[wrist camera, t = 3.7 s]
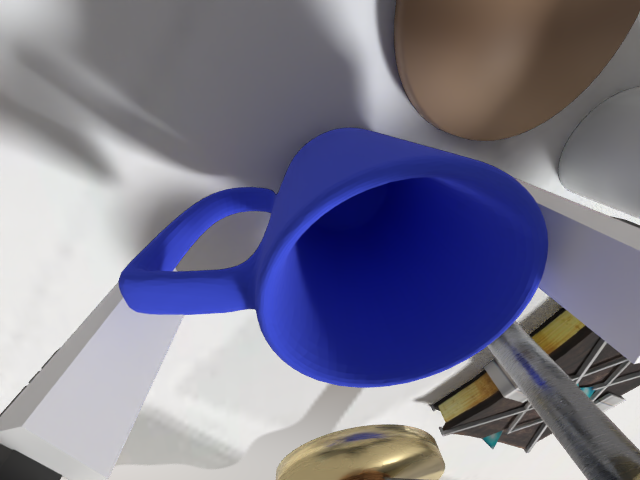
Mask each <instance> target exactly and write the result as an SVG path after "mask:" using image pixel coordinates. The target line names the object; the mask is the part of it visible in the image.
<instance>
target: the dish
mask: <svg viewBox="0 0 640 480" xmlns="http://www.w3.org/2000/svg"><path fill="white" fill-rule="evenodd" d="M639 12H640V0H396V9H395V18H394V47H395V57H396V63H397V67H398V72H399V76H400V79H401V82H402V85H403V87H404V90H405V92H406V94H407V96H408V98H409V100H410V102H411V103H412V104H413V106H414V107H415V109H416V110H417V112H418V113H419V114H420V115H421V116H422V117H423V118H424V119H425V120H426V121H428V122H429V123H430V124H432V125H433V126H434V127H436V128H438V129H440V130H442V131H444V132H446V133H449V134H453V135H456V136H459V137H462V138H466V139H469V140H478V141H494V140H499V139H505V138H509V137H512V136H516V135H519V134H521V133H524V132H526V131H528V130H531V129H533V128H535V127H537V126H538V125H540V124H542V123H544V122H546V121H547V120H549V119H550V118H552V117H553V116H554V115H556V114H557V113H559V112H560V111H562V110H563V109H564V108H565V107H566V106H568V105H569V104H570V103H571V102H573V101H574V100H575V99H576V98H577V97H578V96H579V95H580V94H581V93H582V92H583V91H584V90H585V89H586V88H587V87H588V86H589V85H590V84H591V83H592V82H593V81H594V79H595V78H596V77H597V76H598V75H599V74H600V73H601V71H602V70H603V69H604V67H605V66H606V65H607V64H608V62H609V61H610V60H611V58H612V57H613V56H614V54H615V53H616V51H617V50H618V48H619V47H620V45H621V44H622V42H623V41H624V39H625V37H626V36H627V34H628V32H629V30H630V29H631V27H632V25H633V23H634V22H635V20H636V18H637V16H638V14H639Z"/></svg>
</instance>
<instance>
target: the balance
mask: <svg viewBox="0 0 640 480" xmlns="http://www.w3.org/2000/svg"><path fill="white" fill-rule="evenodd" d="M487 347H488V348H489V350H490V351H491V352H492V354H493V355H494V356H495V358H496V359H497V360H498V362H499V363H500V364H501V366H502V367H503V368H504V370H505V371H506V372H507V373H508V375H509V376H510V377H511V379H512V380H513V381H514V383H515V384H516V385H517V387H518V388H519V389H520V391H521V392H522V393H523V395H524V396H525V397H526V399H527V400H528V401H529V403H530V404H531V405H532V407H533V408H534V409H535V410H536V412H537V413H538V414H539V416H540V417H541V418H542V420H543V421H544V422H545V424H546V425H547V426H548V428H549V429H550V430H551V432H552V433H553V434H554V436H555V437H556V438H557V440H558V441H559V442H560V444H561V445H562V446H563V447H564V449H565V450H566V451H567V453H568V454H569V455H570V457H571V458H572V459H573V461H574V462H575V463H576V465H577V466H578V467H579V469H580V470H581V471H582V473H583V474H584V475H585V477H586V478H587V479H588V480H640V450H639V449H638V448H637V447H636V446H635V445H634V444H633V443H632V442H631V441H630V440H629V439H628V438H627V437H626V436H625V435H624V434H623V433H622V432H621V431H620V429H619V428H618V427H617V426H616V425H615V424H614V423H613V422H612V421H611V420H610V419H609V418H608V417H607V416H606V415H605V414H604V413H603V412H602V411H601V410H600V409H599V408H598V406H597V405H596V404H595V403H594V402H593V401H592V400H591V399H590V398H589V397H588V396H587V395H586V394H585V393H584V392H583V391H582V390H581V389H580V388H579V387H578V386H577V385H576V383H575V382H574V381H573V380H572V379H571V378H570V377H569V376H568V375H567V374H566V373H565V372H564V371H563V370H562V369H561V368H560V367H559V366H558V365H557V364H556V363H555V362H554V360H553V359H552V358H551V357H550V356H549V355H548V354H547V353H546V352H545V351H544V350H543V349H542V348H541V347H540V346H539V345H538V344H537V343H536V342H535V341H534V340H533V339H532V337H531V336H530V335H529V334H528V333H527V332H526V331H525V330H524V329H523V328H522V327H521V326H520V325H519V324H518V323H517V322H516V321H514V323H513V324H512V325H511V326H510V327H509V328H508V329H507V330H506V331H505V332H504V333H503V334H501V335H500V336H499V337H498V338H497V339H495V340H494V341H493V342H492V343H491V344H489V345H488V346H487ZM444 470H445V463H444V461H443V458H442V456H441V453H440V451H439V448H438V446H437V444H436V441H435V439H434V438H433V437H432V436H431V435H430V434H429V433H427V432H425V431H423V430H421V429H418V428H414V427H410V426H404V425H369V426H361V427H355V428H350V429H345V430H341V431H337V432H333V433H330V434H327V435H324V436H321V437H319V438H316V439H314V440H311V441H310V442H307V443H305V444H303V445H301V446H300V447H298V448H297V449H295V450H293V451H292V452H291V453H289V454H288V455H287V456H286V457H285V458H284V459H283V460H282V461H281V463H280V464H279V466H278V468H277V471H276V480H438V479H439V478H440V477H441V476H442V474H443V473H444Z"/></svg>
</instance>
